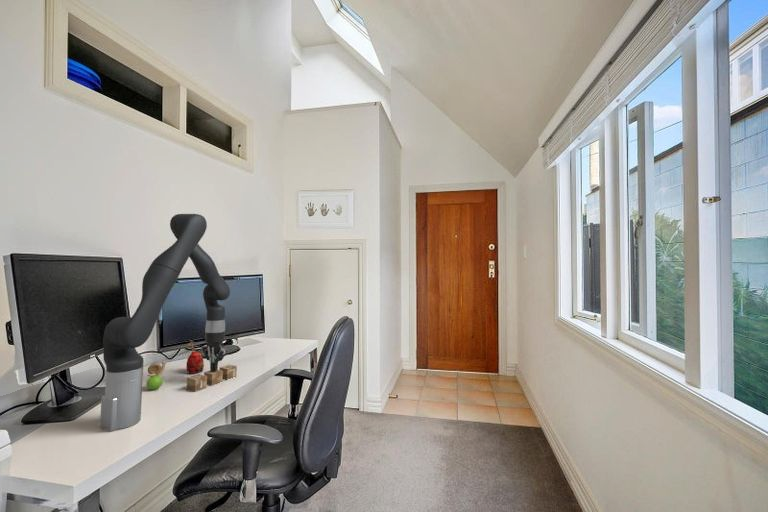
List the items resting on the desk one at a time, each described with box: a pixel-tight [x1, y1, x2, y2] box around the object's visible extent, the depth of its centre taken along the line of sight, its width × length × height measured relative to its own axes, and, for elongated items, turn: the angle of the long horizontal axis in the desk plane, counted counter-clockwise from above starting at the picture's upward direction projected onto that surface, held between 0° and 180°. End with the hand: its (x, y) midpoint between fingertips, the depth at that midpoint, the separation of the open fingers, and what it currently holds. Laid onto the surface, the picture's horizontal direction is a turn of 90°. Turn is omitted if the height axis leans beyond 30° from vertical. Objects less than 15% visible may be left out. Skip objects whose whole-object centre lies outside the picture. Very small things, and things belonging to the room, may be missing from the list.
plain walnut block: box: [203, 369, 223, 387], centre depth 138 cm, size 5×5×5 cm
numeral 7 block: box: [218, 364, 238, 381], centre depth 145 cm, size 5×5×5 cm
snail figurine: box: [145, 357, 167, 391], centre depth 131 cm, size 5×6×12 cm
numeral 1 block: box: [186, 373, 208, 393], centre depth 132 cm, size 5×5×5 cm
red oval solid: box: [185, 339, 205, 375], centre depth 152 cm, size 8×7×15 cm
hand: (213, 370), depth 139 cm, fingers closed
